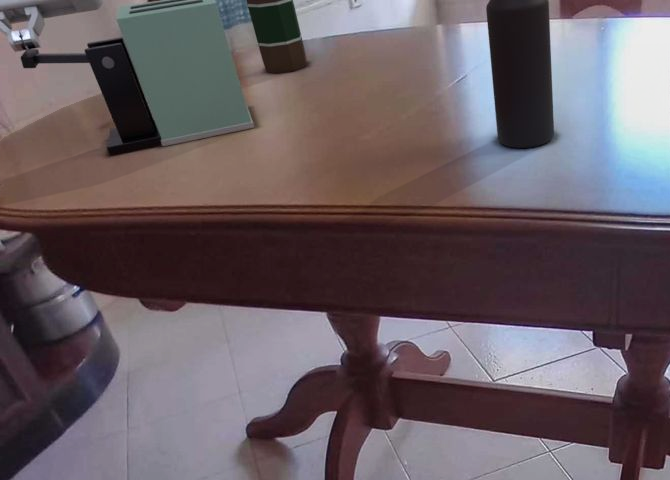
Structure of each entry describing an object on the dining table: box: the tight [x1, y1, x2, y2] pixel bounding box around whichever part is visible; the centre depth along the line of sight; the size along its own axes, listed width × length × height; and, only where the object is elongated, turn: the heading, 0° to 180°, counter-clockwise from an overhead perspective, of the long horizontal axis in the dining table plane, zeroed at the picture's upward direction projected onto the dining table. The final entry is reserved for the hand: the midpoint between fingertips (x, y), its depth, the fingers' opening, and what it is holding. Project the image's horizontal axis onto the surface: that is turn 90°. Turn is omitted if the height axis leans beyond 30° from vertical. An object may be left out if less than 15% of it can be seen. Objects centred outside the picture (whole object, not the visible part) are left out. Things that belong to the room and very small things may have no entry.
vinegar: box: [485, 0, 555, 149], centre depth 78 cm, size 7×7×20 cm
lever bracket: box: [84, 36, 162, 157], centre depth 95 cm, size 8×9×13 cm
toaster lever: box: [20, 48, 90, 69], centre depth 90 cm, size 11×5×2 cm, turn 111°
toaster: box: [115, 0, 255, 147], centre depth 96 cm, size 12×10×16 cm
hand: (26, 46), depth 88 cm, fingers closed
